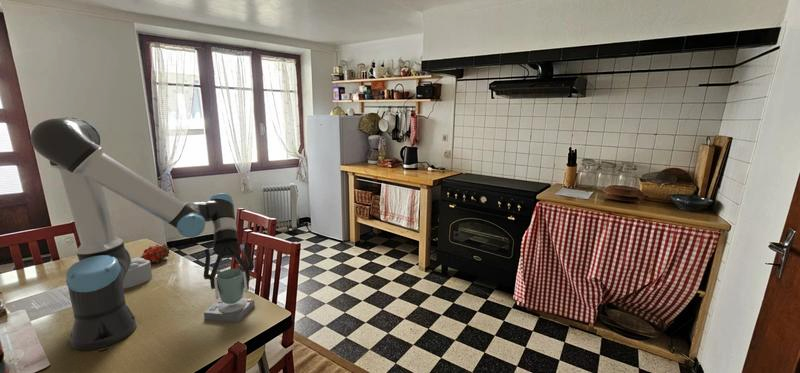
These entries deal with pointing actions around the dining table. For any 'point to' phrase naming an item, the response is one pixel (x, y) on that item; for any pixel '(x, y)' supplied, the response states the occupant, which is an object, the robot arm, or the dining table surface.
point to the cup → (230, 285)
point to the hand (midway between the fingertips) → (232, 294)
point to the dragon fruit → (156, 253)
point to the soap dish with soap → (229, 310)
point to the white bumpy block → (137, 272)
